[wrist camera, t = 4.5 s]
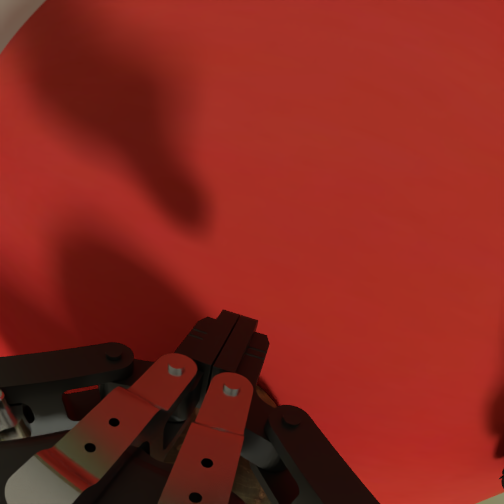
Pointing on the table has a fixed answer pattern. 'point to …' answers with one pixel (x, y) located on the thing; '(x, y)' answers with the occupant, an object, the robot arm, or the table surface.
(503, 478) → the toy car
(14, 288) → the table surface
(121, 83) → the table surface
